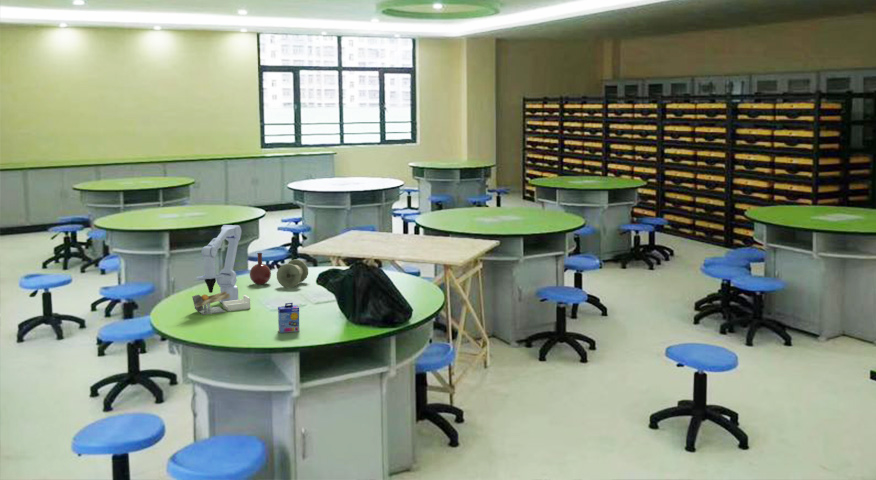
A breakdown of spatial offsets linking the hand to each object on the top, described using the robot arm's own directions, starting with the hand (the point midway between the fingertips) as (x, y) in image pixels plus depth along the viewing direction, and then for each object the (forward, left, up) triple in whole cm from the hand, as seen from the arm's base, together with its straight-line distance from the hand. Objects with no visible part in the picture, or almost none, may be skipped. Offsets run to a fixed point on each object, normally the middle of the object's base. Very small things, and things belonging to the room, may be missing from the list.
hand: (210, 292), depth 416 cm
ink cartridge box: (-21, +65, -9) cm, 69 cm away
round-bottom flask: (-43, -48, -9) cm, 65 cm away
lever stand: (+2, +7, -9) cm, 11 cm away
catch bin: (-12, +6, -9) cm, 16 cm away
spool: (-60, -36, -9) cm, 70 cm away
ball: (+5, +6, -1) cm, 8 cm away
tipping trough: (+1, +4, -6) cm, 7 cm away
